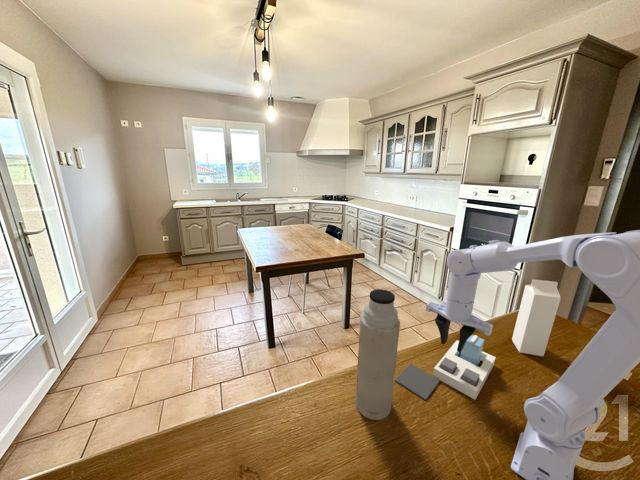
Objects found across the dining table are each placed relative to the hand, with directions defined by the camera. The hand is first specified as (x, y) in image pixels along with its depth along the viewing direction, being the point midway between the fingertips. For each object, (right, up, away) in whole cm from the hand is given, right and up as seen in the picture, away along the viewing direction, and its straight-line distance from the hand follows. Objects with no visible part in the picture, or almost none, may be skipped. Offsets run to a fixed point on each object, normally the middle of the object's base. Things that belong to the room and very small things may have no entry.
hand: (451, 346), depth 66 cm
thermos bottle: (-21, -11, -6) cm, 24 cm away
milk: (+29, -6, +13) cm, 32 cm away
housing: (+5, -8, +4) cm, 11 cm away
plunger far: (0, -8, +2) cm, 9 cm away
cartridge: (+8, -7, +7) cm, 13 cm away
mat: (-8, -9, +1) cm, 12 cm away
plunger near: (+4, -9, -1) cm, 10 cm away
